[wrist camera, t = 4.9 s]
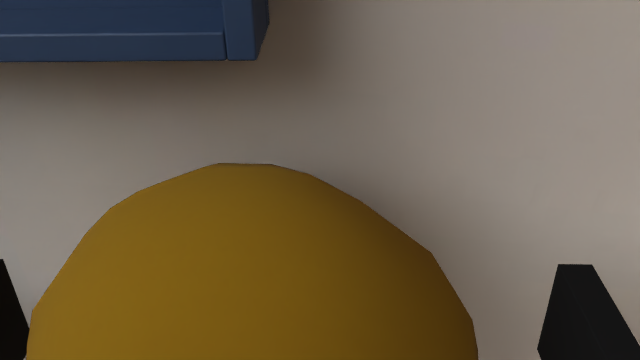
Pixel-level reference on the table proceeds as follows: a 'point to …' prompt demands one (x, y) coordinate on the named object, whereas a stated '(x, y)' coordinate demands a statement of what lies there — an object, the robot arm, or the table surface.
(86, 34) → the fruit tray
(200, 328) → the apple
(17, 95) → the table surface
